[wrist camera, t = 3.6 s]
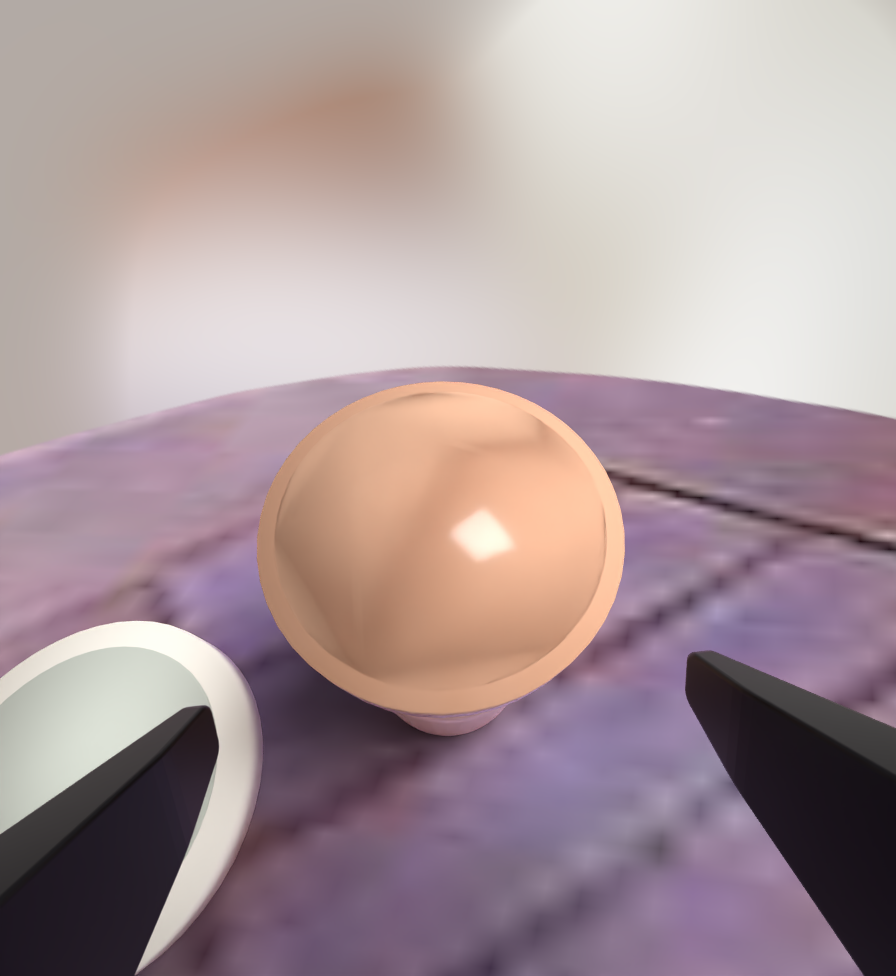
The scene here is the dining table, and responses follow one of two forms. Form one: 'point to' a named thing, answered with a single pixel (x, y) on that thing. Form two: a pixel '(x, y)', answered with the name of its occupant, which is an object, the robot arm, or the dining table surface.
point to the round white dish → (133, 739)
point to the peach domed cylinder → (440, 551)
